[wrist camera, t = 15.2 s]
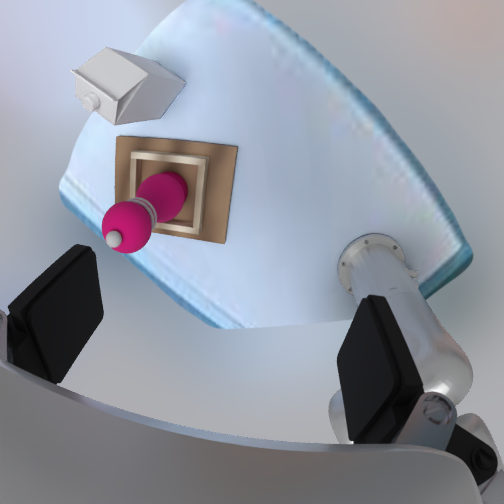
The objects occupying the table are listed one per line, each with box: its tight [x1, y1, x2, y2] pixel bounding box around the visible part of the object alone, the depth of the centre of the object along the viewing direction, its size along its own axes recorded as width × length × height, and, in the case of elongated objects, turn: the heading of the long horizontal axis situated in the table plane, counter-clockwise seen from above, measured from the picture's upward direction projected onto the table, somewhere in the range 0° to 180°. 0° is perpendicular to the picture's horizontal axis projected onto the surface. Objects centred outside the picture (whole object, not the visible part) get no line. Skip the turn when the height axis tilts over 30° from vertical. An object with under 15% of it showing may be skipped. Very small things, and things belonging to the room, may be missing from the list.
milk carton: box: [70, 47, 186, 125], centre depth 32 cm, size 7×7×19 cm
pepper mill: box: [102, 171, 188, 253], centre depth 38 cm, size 7×7×20 cm
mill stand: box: [115, 136, 238, 244], centre depth 46 cm, size 20×16×3 cm
